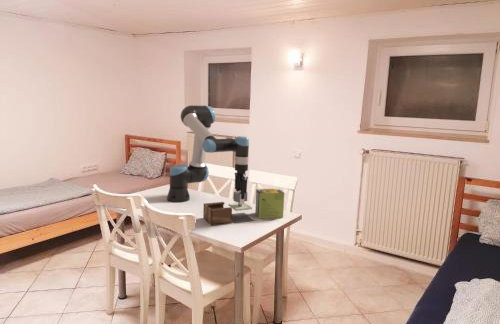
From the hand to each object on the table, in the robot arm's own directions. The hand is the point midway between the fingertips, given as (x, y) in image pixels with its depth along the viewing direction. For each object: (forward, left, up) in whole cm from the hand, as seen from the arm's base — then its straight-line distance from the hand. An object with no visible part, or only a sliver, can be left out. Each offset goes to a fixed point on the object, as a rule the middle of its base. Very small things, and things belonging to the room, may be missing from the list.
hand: (240, 202), depth 206 cm
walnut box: (0, -14, -9) cm, 17 cm away
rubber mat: (0, 0, -9) cm, 9 cm away
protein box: (+1, +19, -9) cm, 21 cm away
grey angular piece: (0, 0, -3) cm, 3 cm away
